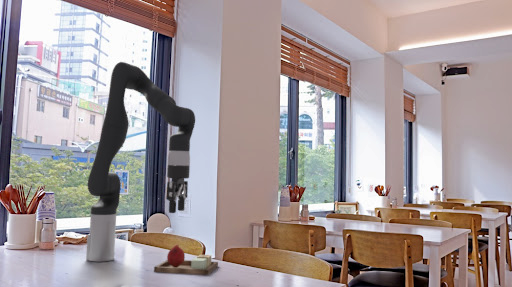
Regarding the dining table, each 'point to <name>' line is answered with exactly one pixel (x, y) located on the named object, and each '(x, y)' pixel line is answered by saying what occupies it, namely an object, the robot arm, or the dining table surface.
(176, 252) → the onion
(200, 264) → the sage block
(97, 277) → the dining table surface
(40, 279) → the dining table surface
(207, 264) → the oak block
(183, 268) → the tray
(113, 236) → the robot arm
